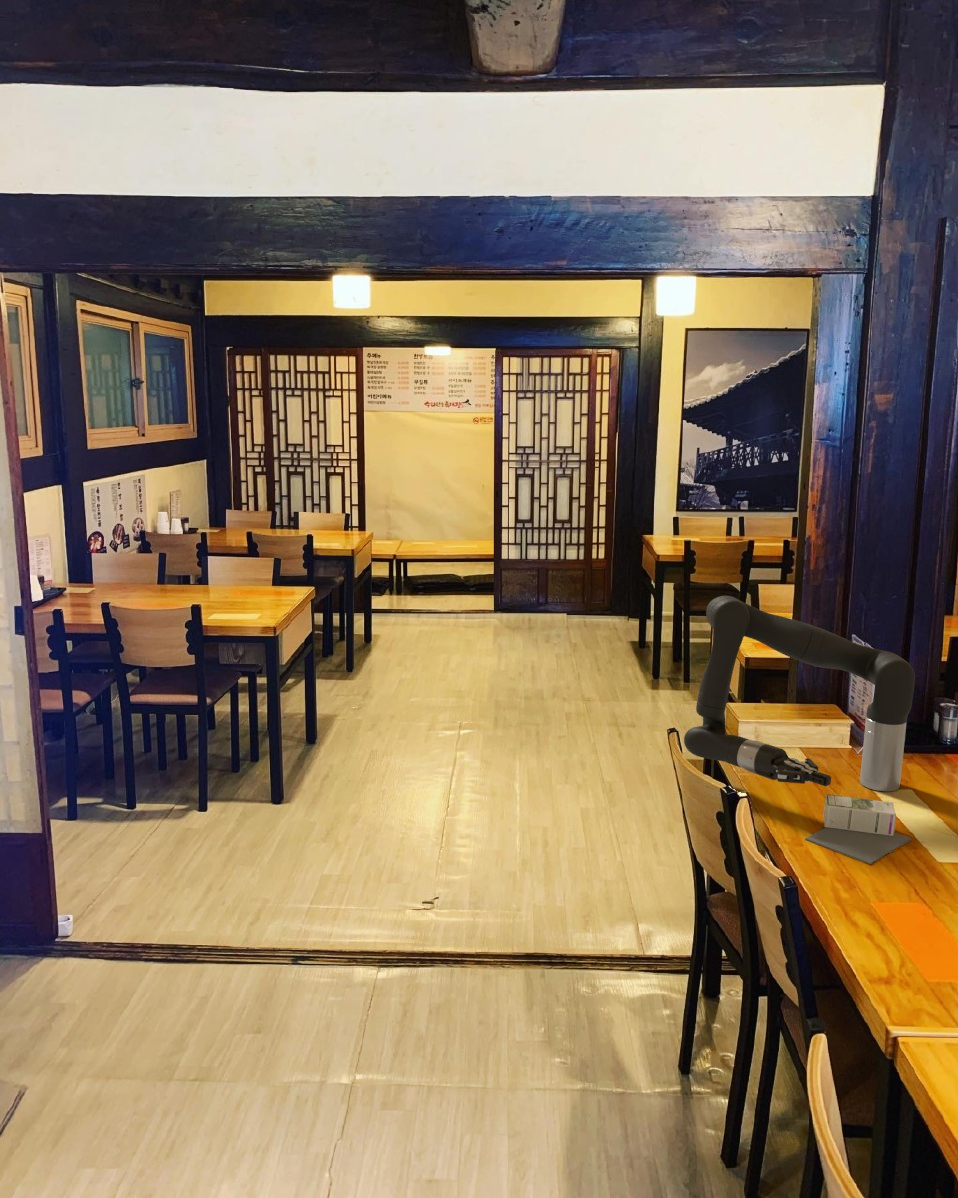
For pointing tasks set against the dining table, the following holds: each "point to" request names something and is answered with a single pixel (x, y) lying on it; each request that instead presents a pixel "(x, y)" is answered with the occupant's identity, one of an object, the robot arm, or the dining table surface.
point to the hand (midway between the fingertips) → (829, 781)
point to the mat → (858, 843)
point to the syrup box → (859, 815)
